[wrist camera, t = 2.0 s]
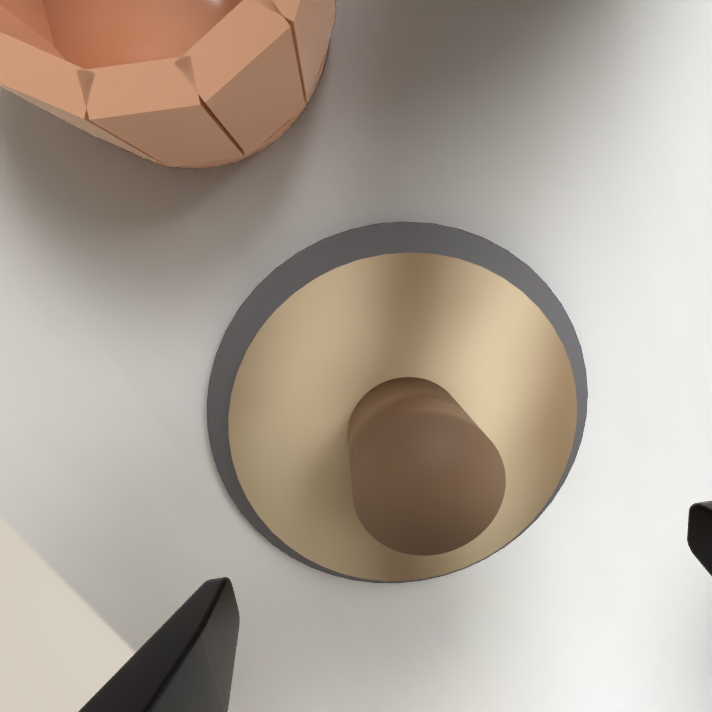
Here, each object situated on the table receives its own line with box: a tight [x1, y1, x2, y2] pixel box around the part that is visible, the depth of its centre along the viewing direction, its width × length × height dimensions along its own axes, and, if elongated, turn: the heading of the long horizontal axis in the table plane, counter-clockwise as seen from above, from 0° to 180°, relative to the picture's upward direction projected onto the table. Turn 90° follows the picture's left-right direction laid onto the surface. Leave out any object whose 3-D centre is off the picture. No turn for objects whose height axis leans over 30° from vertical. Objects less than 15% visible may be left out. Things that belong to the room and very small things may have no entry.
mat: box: [207, 222, 588, 583], centre depth 15 cm, size 14×14×1 cm
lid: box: [228, 252, 577, 581], centre depth 13 cm, size 12×12×4 cm
